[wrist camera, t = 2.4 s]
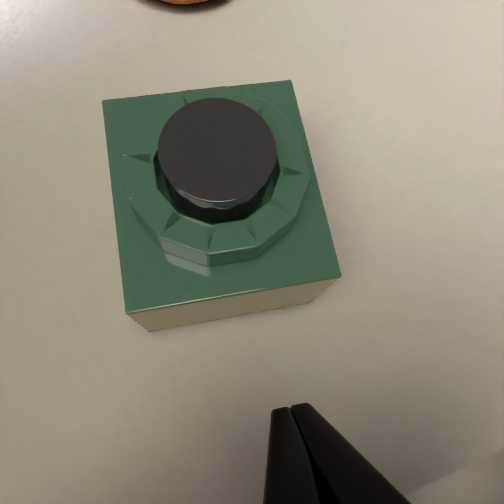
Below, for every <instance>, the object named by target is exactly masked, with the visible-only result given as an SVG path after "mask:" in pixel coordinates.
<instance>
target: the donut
mask: <svg viewBox="0 0 504 504" xmlns="http://www.w3.org/2000/svg"><path fill="white" fill-rule="evenodd" d="M162 1H165V2H168V3H173V4H191V3H197V2H203V1H207V0H162Z"/></svg>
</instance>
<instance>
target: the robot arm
mask: <svg viewBox="0 0 504 504" xmlns="http://www.w3.org/2000/svg"><path fill="white" fill-rule="evenodd" d="M263 504H411V503H410V502H409V501H408V500H407V499H406V498H405V497H404V496H403V495H402V494H401V493H400V492H399V491H398V490H397V489H396V488H395V487H394V486H393V485H392V484H391V483H390V482H389V481H388V480H387V479H386V478H385V477H384V476H383V475H382V474H381V473H380V472H379V471H378V470H377V469H376V468H375V467H374V466H373V465H371V464H370V463H369V462H368V461H367V460H366V459H365V458H364V457H363V456H362V455H361V454H360V453H359V452H358V451H357V450H356V449H355V448H354V447H353V446H352V445H351V444H350V443H349V442H348V441H347V440H346V439H345V438H344V437H343V436H342V435H341V434H340V433H339V432H338V431H337V430H336V429H335V428H334V427H333V426H332V425H331V424H330V423H329V422H328V421H327V420H325V419H324V418H323V417H322V416H321V415H320V414H319V413H318V412H317V411H316V410H315V409H314V408H313V407H312V406H311V405H310V404H309V403H301V404H296V405H292V406H291V407H290V408H289V407H282V408H278V409H274V410H272V412H271V421H270V432H269V444H268V455H267V466H266V477H265V488H264V499H263Z"/></svg>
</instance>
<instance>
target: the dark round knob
mask: <svg viewBox="0 0 504 504" xmlns="http://www.w3.org/2000/svg"><path fill="white" fill-rule="evenodd" d="M158 158H159V162H160V166H161V170H162V174H163V179H164V183H165V185H166V188H167V190H168V192H169V194H170V195H171V197H172V198H173V199H174V201H175V202H176V203H177V204H178V205H179V206H181V207H182V208H183V209H184V210H186V211H188V212H189V213H191V214H194V215H196V216H198V217H202V218H206V219H212V220H222V219H230V218H234V217H237V216H240V215H242V214H244V213H246V212H248V211H249V210H251V209H252V208H253V207H255V206H256V205H257V204H258V203H259V202H260V200H261V199H262V198H263V196H264V195H265V193H266V191H267V189H268V186H269V183H270V179H271V176H272V172H273V168H274V165H275V161H276V143H275V139H274V136H273V133H272V131H271V129H270V127H269V126H268V124H267V122H266V121H265V120H264V119H263V118H262V116H260V115H259V114H258V113H257V112H256V111H255V110H253V109H252V108H250V107H249V106H247V105H245V104H243V103H240V102H238V101H235V100H231V99H226V98H205V99H200V100H196V101H193V102H191V103H188V104H186V105H185V106H183V107H181V108H180V109H178V110H177V111H176V112H175V113H174V114H173V115H172V116H171V117H170V118H169V119H168V120H167V122H166V123H165V125H164V127H163V128H162V131H161V133H160V136H159V140H158Z"/></svg>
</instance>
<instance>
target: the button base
mask: <svg viewBox="0 0 504 504" xmlns="http://www.w3.org/2000/svg"><path fill="white" fill-rule="evenodd" d="M205 98H226V99H231V100H235V101H238V102H240V103H243V104H245V105H247V106H249V107H250V108H252V109H253V110H255V111H256V112H257V113H258V114H259V115H260V116H262V118H263V119H264V120H265V121H266V122H267V124H268V126H269V127H270V129H271V131H272V133H273V136H274V139H275V143H276V161H275V165H274V168H273V172H272V176H271V179H270V183H269V186H268V189H267V191H266V193H265V195H264V196H263V198H262V199H261V200H260V202H259V203H258V204H257V205H256V206H255V207H253V208H252V209H251V210H249V211H248V212H246V213H244V214H242V215H240V216H237V217H234V218H230V219H222V220H212V219H206V218H202V217H198V216H196V215H194V214H191V213H189V212H188V211H186V210H184V209H183V208H182V207H181V206H179V205H178V204H177V203H176V202H175V201H174V199H173V198H172V197H171V195H170V194H169V192H168V190H167V188H166V185H165V183H164V179H163V174H162V170H161V166H160V162H159V158H158V140H159V136H160V133H161V131H162V128H163V127H164V125H165V123H166V122H167V120H168V119H169V118H170V117H171V116H172V115H173V114H174V113H175V112H176V111H177V110H178V109H180V108H181V107H183V106H185V105H186V104H188V103H191V102H193V101H196V100H200V99H205ZM102 106H103V115H104V124H105V133H106V142H107V151H108V160H109V169H110V178H111V187H112V195H113V204H114V213H115V222H116V231H117V240H118V249H119V258H120V267H121V276H122V285H123V294H124V302H125V311H126V314H127V315H128V316H129V317H131V318H132V319H133V320H134V321H136V322H137V323H138V324H140V325H141V326H142V327H143V328H145V329H146V330H147V331H148V332H152V331H157V330H163V329H168V328H174V327H179V326H185V325H190V324H196V323H201V322H207V321H212V320H218V319H223V318H229V317H234V316H240V315H245V314H251V313H256V312H262V311H268V310H273V309H279V308H284V307H290V306H295V305H301V304H306V303H310V302H312V301H313V300H314V299H315V298H316V297H318V296H319V295H320V294H321V293H322V292H324V291H325V290H326V289H327V288H328V287H330V286H331V285H332V284H333V283H334V282H336V281H337V280H338V279H339V278H340V277H341V272H340V268H339V264H338V260H337V256H336V253H335V249H334V245H333V241H332V237H331V233H330V229H329V225H328V221H327V217H326V214H325V210H324V206H323V202H322V198H321V194H320V190H319V186H318V182H317V178H316V174H315V171H314V167H313V163H312V159H311V155H310V151H309V147H308V143H307V139H306V135H305V132H304V128H303V124H302V120H301V116H300V112H299V108H298V104H297V100H296V96H295V93H294V89H293V85H292V81H291V80H285V81H276V82H267V83H257V84H248V85H239V86H230V87H215V88H206V89H196V90H187V91H181V92H174V93H165V94H155V95H146V96H137V97H127V98H118V99H109V100H103V101H102Z"/></svg>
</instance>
